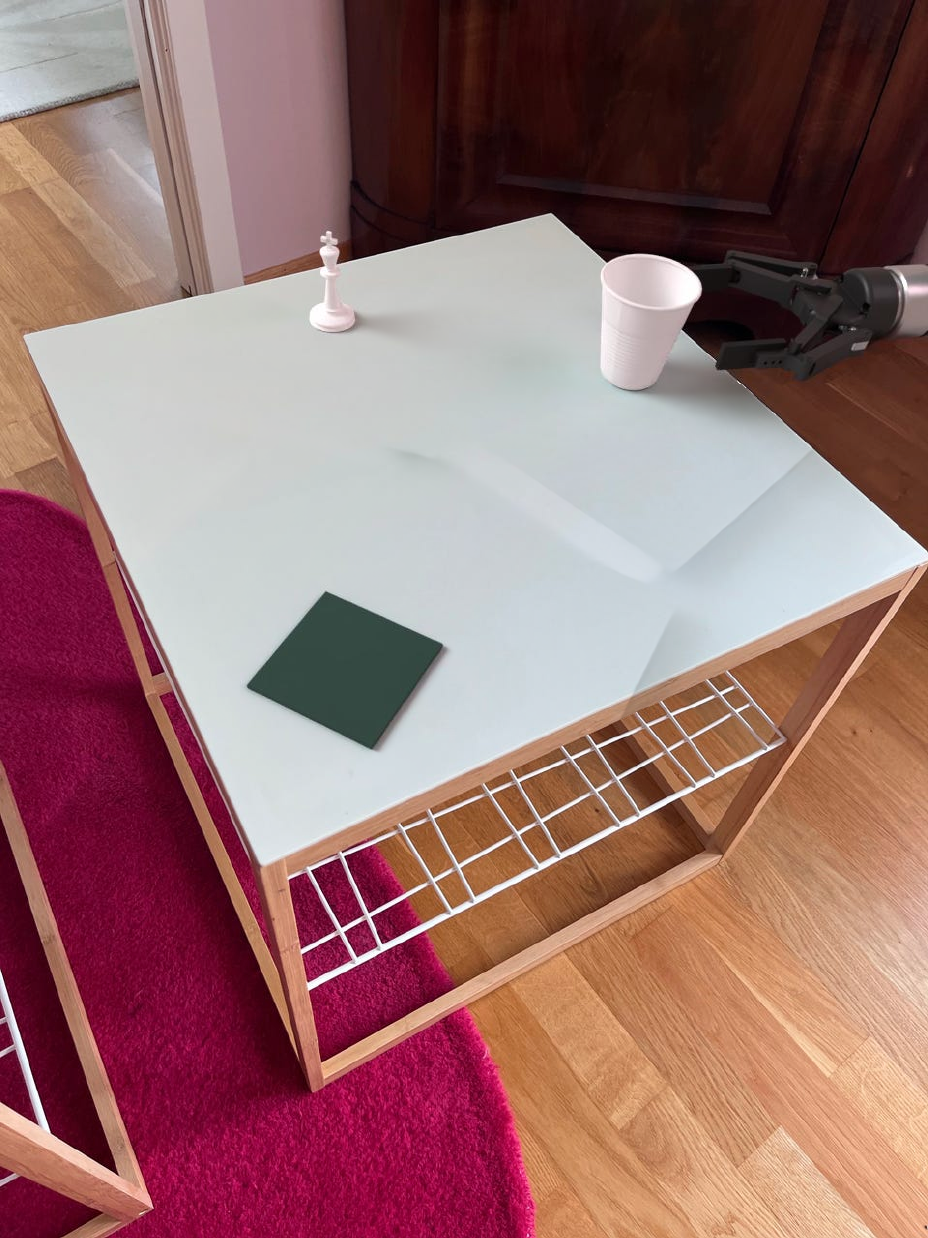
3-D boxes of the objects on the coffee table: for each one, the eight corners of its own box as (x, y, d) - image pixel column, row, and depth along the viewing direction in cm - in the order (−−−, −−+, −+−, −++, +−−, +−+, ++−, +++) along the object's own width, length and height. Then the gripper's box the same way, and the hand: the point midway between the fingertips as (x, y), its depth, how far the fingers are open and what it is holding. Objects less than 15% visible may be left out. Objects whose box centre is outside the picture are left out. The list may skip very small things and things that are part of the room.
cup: (693, 376, 101) (721, 283, 93) (638, 416, 96) (663, 321, 88) (619, 335, 105) (640, 242, 97) (563, 371, 100) (580, 276, 92)
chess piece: (320, 302, 105) (315, 215, 97) (361, 312, 104) (360, 225, 97) (302, 326, 102) (296, 238, 94) (345, 336, 101) (342, 249, 94)
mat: (442, 646, 76) (443, 643, 75) (371, 749, 69) (371, 747, 69) (325, 593, 78) (325, 590, 78) (246, 688, 72) (246, 685, 72)
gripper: (924, 406, 96) (731, 424, 92) (815, 273, 111) (646, 283, 107) (959, 342, 90) (755, 358, 86) (839, 211, 105) (661, 219, 101)
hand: (694, 317), depth 97 cm, fingers open, 13 cm apart
